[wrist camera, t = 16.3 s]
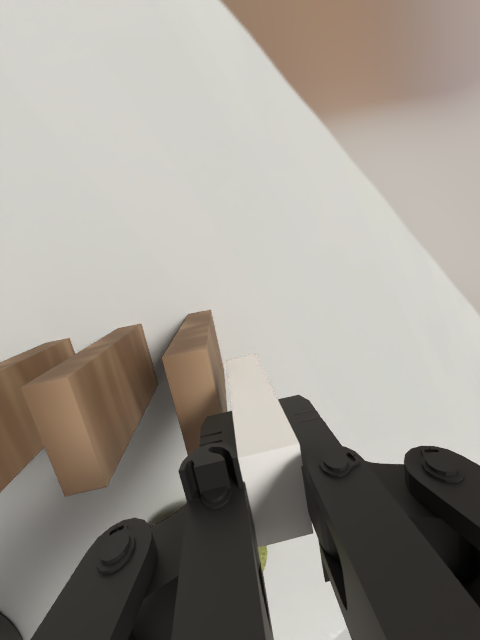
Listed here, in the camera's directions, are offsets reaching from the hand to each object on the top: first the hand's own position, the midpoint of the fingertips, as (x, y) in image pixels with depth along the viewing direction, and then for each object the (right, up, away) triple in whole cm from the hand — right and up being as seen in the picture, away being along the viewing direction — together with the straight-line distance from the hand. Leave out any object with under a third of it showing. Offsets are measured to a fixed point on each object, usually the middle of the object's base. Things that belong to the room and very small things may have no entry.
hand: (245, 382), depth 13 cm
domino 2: (-8, 0, +8) cm, 11 cm away
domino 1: (-3, +1, +8) cm, 8 cm away
